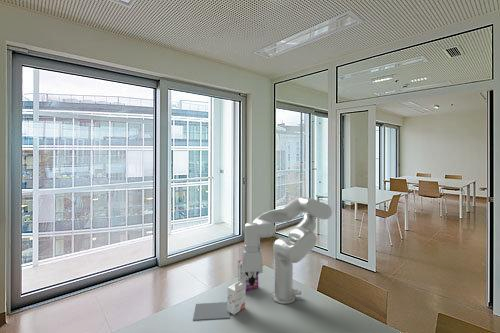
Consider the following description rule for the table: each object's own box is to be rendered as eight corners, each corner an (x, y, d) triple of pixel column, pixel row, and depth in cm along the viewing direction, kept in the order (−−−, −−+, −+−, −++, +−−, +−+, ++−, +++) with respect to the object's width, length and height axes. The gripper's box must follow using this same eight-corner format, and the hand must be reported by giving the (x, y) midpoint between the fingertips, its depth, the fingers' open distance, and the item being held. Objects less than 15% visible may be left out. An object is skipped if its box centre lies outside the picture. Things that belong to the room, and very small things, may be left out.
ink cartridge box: (237, 303, 131) (239, 275, 130) (245, 307, 127) (246, 278, 127) (226, 311, 124) (227, 281, 123) (233, 315, 121) (235, 284, 120)
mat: (229, 302, 132) (229, 301, 132) (230, 318, 119) (230, 317, 119) (195, 304, 130) (195, 303, 130) (192, 320, 117) (192, 319, 117)
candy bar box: (254, 284, 152) (254, 256, 151) (258, 287, 147) (258, 259, 147) (237, 288, 146) (237, 260, 146) (241, 292, 142) (241, 263, 142)
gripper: (265, 245, 130) (265, 280, 131) (236, 245, 129) (236, 281, 129) (268, 250, 123) (268, 287, 123) (237, 251, 121) (237, 289, 122)
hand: (251, 284), depth 126 cm, fingers closed
